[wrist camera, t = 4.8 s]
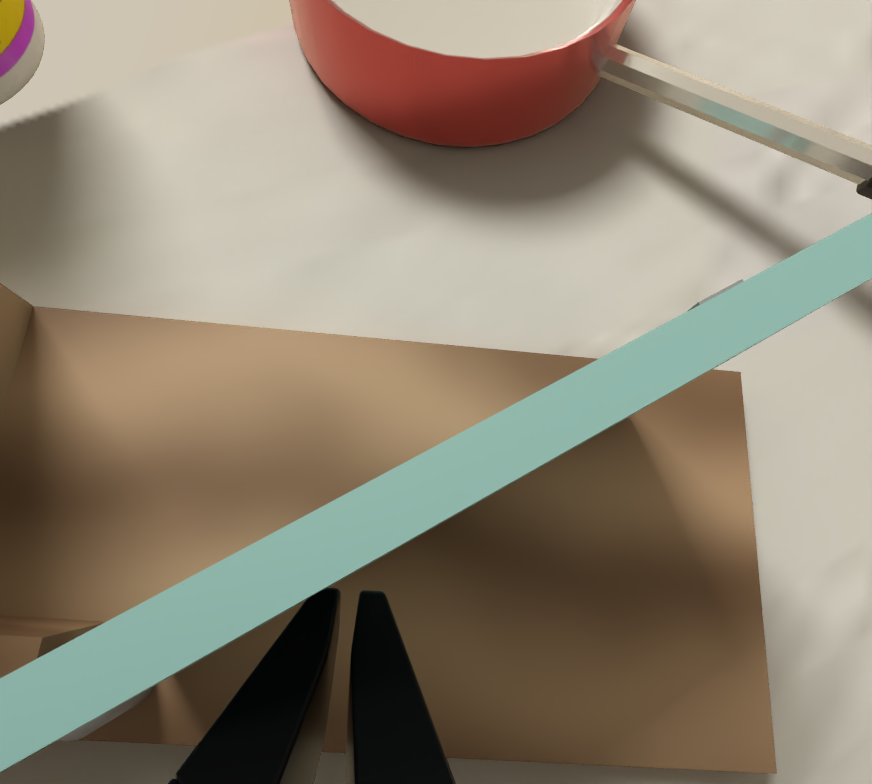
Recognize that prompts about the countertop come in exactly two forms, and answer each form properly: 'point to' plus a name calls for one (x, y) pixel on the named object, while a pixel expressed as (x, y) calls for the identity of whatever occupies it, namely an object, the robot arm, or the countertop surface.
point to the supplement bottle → (19, 45)
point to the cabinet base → (410, 563)
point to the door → (406, 502)
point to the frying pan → (524, 74)
